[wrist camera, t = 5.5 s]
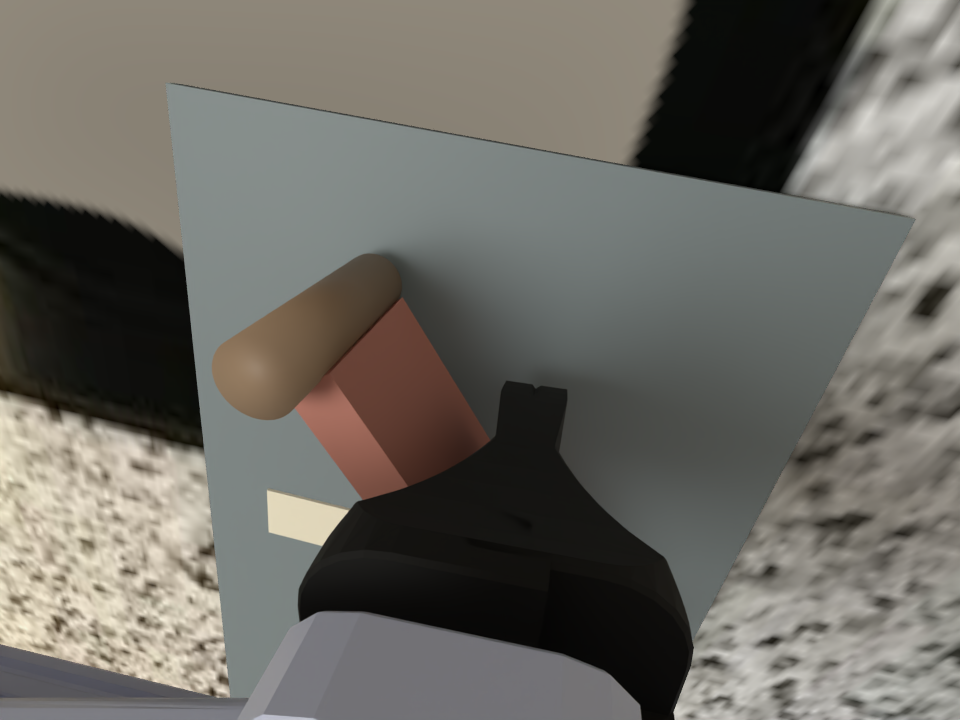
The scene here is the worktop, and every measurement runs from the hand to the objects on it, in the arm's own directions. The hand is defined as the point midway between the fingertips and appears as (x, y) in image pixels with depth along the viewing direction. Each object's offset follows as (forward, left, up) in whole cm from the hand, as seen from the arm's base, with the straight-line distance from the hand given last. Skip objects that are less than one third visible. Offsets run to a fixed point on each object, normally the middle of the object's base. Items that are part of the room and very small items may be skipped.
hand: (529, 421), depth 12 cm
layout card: (-6, +2, -2) cm, 7 cm away
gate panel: (-1, +2, -1) cm, 2 cm away
